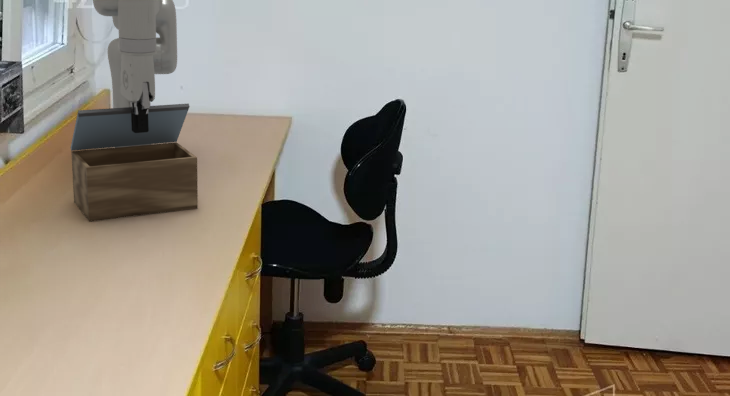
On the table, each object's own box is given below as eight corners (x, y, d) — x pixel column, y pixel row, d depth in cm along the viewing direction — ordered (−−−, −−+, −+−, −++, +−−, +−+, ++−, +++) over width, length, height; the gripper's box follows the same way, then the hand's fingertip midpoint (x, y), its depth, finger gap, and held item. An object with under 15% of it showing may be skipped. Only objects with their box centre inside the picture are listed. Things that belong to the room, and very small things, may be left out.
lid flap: (71, 150, 195) (70, 147, 196) (176, 141, 207) (175, 139, 207) (78, 113, 184) (78, 110, 185) (189, 106, 196) (188, 103, 197)
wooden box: (74, 202, 199) (71, 151, 195) (177, 190, 211) (176, 142, 207) (89, 221, 188) (86, 167, 184) (197, 208, 199) (197, 157, 196)
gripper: (110, 41, 188) (113, 125, 194) (130, 52, 176) (132, 141, 182) (144, 40, 192) (146, 122, 197) (166, 51, 180) (168, 138, 185)
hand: (140, 131), depth 190 cm, fingers closed
